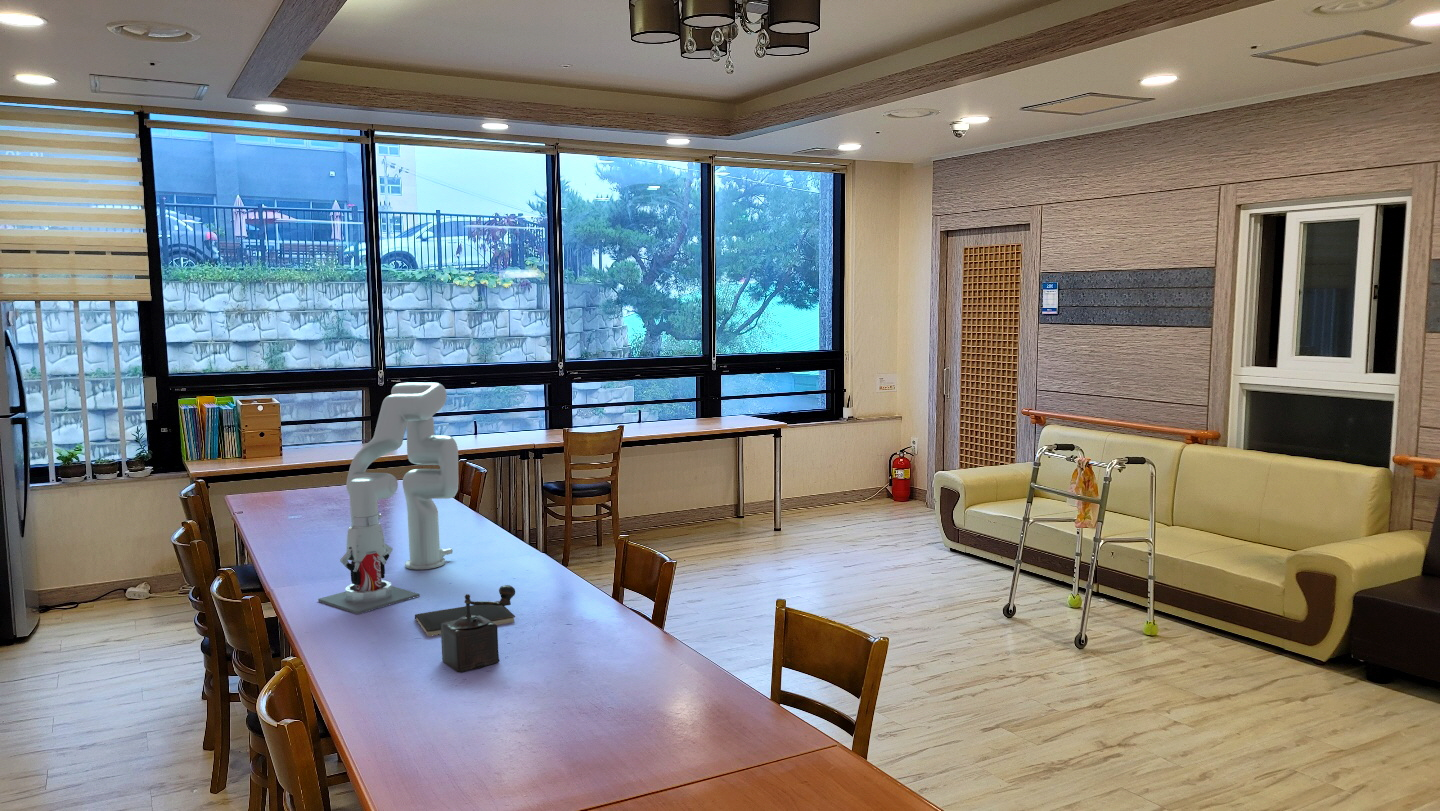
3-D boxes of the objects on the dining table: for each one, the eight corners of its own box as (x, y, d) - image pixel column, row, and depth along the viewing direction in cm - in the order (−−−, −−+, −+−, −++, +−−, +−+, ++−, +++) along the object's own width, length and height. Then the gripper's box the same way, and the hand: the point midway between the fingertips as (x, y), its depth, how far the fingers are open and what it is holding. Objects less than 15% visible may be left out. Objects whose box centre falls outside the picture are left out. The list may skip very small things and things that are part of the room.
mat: (379, 585, 303) (379, 582, 303) (419, 596, 291) (419, 593, 290) (318, 601, 287) (318, 598, 287) (357, 614, 275) (357, 611, 275)
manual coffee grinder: (459, 674, 230) (456, 598, 228) (440, 661, 239) (437, 587, 237) (521, 658, 239) (518, 585, 237) (500, 646, 248) (497, 575, 246)
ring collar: (375, 587, 298) (375, 577, 297) (400, 594, 290) (399, 584, 290) (337, 597, 288) (336, 587, 288) (361, 605, 280) (361, 595, 280)
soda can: (373, 595, 285) (371, 554, 283) (351, 594, 286) (349, 553, 285) (386, 588, 292) (384, 548, 290) (364, 587, 293) (362, 547, 292)
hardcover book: (515, 624, 266) (515, 616, 266) (427, 639, 255) (427, 630, 255) (498, 608, 280) (498, 600, 280) (415, 621, 270) (414, 613, 269)
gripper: (384, 513, 296) (387, 571, 298) (329, 525, 282) (333, 585, 284) (398, 516, 291) (402, 575, 293) (344, 528, 277) (348, 590, 279)
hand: (368, 580), depth 289 cm, fingers open, 7 cm apart
